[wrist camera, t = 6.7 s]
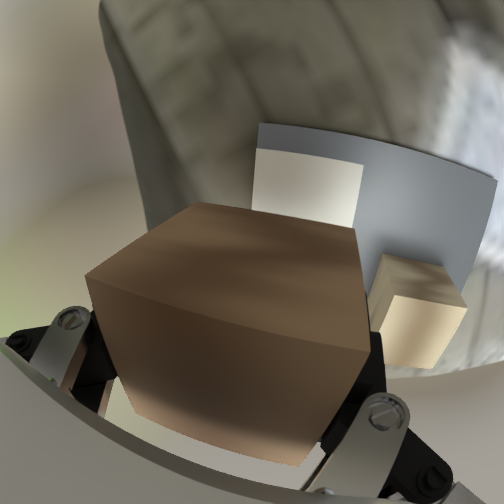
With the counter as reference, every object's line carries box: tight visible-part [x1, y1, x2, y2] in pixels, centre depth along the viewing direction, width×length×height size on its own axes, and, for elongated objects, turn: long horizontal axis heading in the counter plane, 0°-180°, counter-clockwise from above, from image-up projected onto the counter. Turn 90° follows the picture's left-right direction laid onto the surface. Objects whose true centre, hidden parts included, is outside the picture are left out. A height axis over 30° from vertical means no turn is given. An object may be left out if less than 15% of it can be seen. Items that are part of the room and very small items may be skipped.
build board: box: [252, 123, 498, 300], centre depth 20 cm, size 20×15×1 cm
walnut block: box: [85, 202, 371, 467], centre depth 9 cm, size 6×6×6 cm
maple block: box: [367, 254, 468, 369], centre depth 18 cm, size 6×6×6 cm
